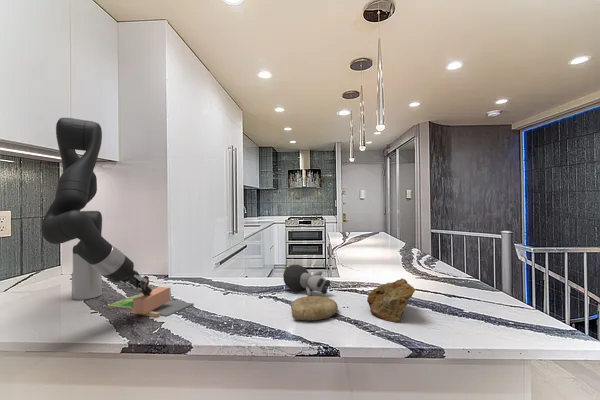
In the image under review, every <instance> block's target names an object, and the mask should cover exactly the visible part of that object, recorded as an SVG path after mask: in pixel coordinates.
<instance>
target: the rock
mask: <svg viewBox="0 0 600 400" xmlns="http://www.w3.org/2000/svg"><path fill="white" fill-rule="evenodd" d="M415 292H416V289H415V288H414V286H413V285H411V284H409V283H408V281H407V280H406V279H405V278H401V279H397V280H395V281H394V282H393V281H392V282H386V283H384V284H381V285H379V286H378V287H376V288H373V289H372V290H371V291H370V292H369V294H368V295H367V299H366V302H367V304H368V306H369V310H370V313H371V314H372V315H374V316H375V317H377V318H379V319H382V320H385V321H389V322H393V323H396V322H399V323H400V321H401V319H402V316H403V314H404V313H405V309H406V307H407V306H408V305H409V301H410V299H411V298H412V297H413V295H414V294H415Z"/></svg>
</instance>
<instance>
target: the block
mask: <svg viewBox="0 0 600 400" xmlns="http://www.w3.org/2000/svg"><path fill="white" fill-rule="evenodd" d="M170 300H173V299H172V289H171V286H166V285H165V286H164V285H159V286H157V287H156V288H153V289H152V292H151V293H150V295H149V296H147V295H144V294H142V295H140V296H138V297H136V298H134V299H133V306H134V313H140V314H146V313H148V312H150V311H152V310H154V309H155V308H157V307H159V306H161V305H163V304H165V303H166V302H168V301H170ZM134 313H133V314H134ZM140 314H139V315H140Z"/></svg>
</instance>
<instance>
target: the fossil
mask: <svg viewBox="0 0 600 400" xmlns="http://www.w3.org/2000/svg"><path fill="white" fill-rule="evenodd" d="M290 309H291V317H292V318H293V319H294V320H297V321H320V320H324V319H327V318H330V317H333V316H334V315H335V314H336V313H337V312H338V309H339V306H338V303H337V302H336V301H335V300H334V299H332V298H329V297H326V296H319V295H311V296H309V295H308V296H302V297H298V298H296V299H294V300H293V301H292V302H291V304H290Z"/></svg>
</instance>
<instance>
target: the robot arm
mask: <svg viewBox="0 0 600 400" xmlns="http://www.w3.org/2000/svg"><path fill="white" fill-rule="evenodd" d="M55 134H56V141H57V146H58V150H59V155H60V159H61V164H62V173H61V175H60V176H59V178H58V181H57V185H56V186H57V187H56V189H55V196H54V200H53V201H52V202H51V204H50V206H49V208H48V210H47V211H46V213H45V215H44V217H43V219H42V222H41V227H40V230H41V235H42V237H43V238H44V240H45V241H46V242H48V243H50V244H53V245H58V244H60V245H61V244H64V243H67V242H70V241H72V240H76V239H77V240H79V241H78V242H77V244H75V245H74V246H73V247H72V273H71V298H72V299H73V300H75V301H77V300H78V301H80V300H81V301H83V300H90V299H95V298H98V297H100V296H102V289H103V287H102V286H103V282H102V279H103V277H105V278H106V279H107V280H109V281H110V282H112V283H119V284H121V285H123V286H125V287H127V288H130V289H134V290H135V291H139V293H142V294H144V295H147V296H149V295H150V293H151V292H152V290H153V289H152V288H151V287H149V284H150V280H149V279H150V278H149V277H148V276H147V275H144V276H143V277H142V275H140V273H139V272H138V271H137V270H135V268H134V267H135V263H134V262H133V260H132V259H130V258H129V257H128V256H126V254H124V253H123V252H122V251H121V249H118V248H117V247H116V246H114V245H112V244H111V243H110V242H109V241H108V240H107V239H106V238H104V237H103V236H102V234H103V233H102V229H103V215H102V212H100V211H99V210H83V209H84V208H85V207H86V206H87V204H89V203H90V202H91V201H92V200H93V199H94V197H95V196H96V194H97V192H98V182H97V181H98V179H97V175H96V173H95V172H94V170H95V168H96V164H97V161H98V157H99V154H100V150H101V147H102V140H103V130H102V126H101V124H100V123H99V122H96V121H93V120H85V119H78V118H72V117H61V118H58V119H57V122H56V125H55ZM76 151H83V152H84V151H85V152H84V153H83V155H82V156H79V155H78V153H77V152H76Z"/></svg>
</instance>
